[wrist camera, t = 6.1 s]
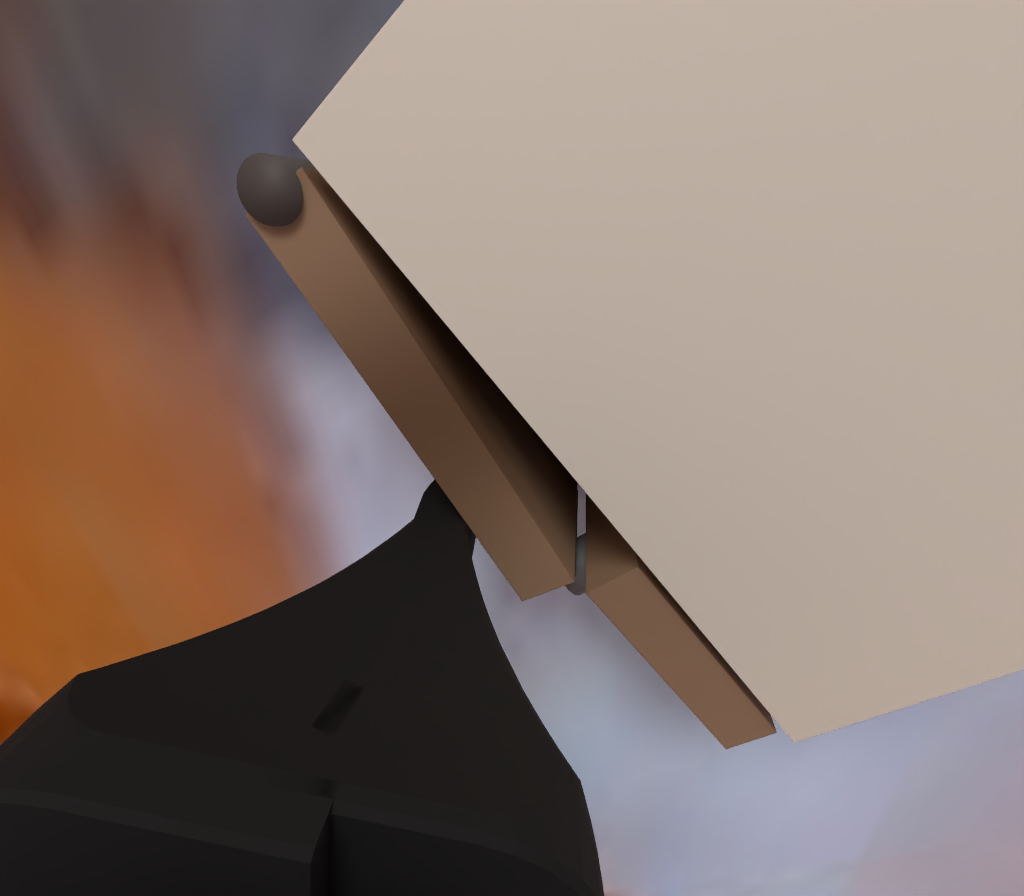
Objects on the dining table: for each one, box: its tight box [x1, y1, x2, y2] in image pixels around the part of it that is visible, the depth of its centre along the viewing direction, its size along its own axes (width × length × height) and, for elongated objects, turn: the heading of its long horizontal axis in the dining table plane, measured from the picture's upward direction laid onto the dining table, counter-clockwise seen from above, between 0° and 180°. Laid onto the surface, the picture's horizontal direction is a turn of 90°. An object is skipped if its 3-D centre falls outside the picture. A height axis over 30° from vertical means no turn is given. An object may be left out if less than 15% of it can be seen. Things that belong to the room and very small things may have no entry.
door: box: [237, 153, 578, 601], centre depth 9 cm, size 8×1×5 cm, turn 31°
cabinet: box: [292, 0, 1024, 749], centre depth 8 cm, size 12×10×5 cm
